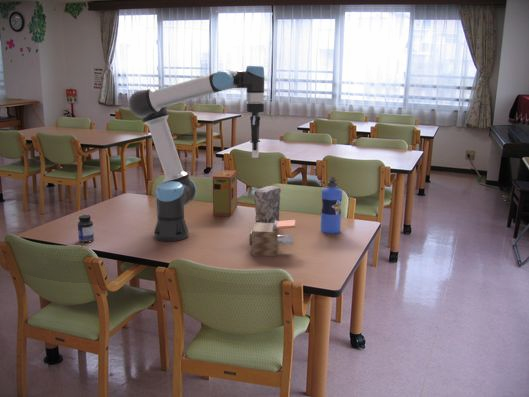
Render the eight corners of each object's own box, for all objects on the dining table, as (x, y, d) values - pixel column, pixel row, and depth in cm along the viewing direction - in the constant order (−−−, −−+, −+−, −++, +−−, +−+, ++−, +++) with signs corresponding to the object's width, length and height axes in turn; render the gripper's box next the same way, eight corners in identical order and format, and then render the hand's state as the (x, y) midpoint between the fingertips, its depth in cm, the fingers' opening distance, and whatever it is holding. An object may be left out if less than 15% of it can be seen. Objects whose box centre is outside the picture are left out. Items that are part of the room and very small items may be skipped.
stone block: (267, 235, 239) (267, 191, 234) (253, 233, 242) (253, 189, 237) (280, 227, 250) (281, 186, 245) (267, 225, 253) (268, 184, 248)
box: (220, 206, 286) (219, 170, 281) (237, 207, 284) (236, 170, 280) (213, 215, 270) (212, 176, 265) (230, 216, 268) (230, 177, 263)
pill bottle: (78, 239, 231) (76, 215, 229) (93, 237, 234) (91, 213, 231) (79, 244, 226) (77, 218, 223) (94, 242, 228) (92, 217, 225)
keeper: (272, 230, 212) (272, 226, 212) (274, 224, 221) (274, 220, 221) (294, 228, 211) (294, 225, 211) (295, 222, 220) (295, 218, 220)
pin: (249, 247, 217) (249, 233, 215) (251, 243, 222) (251, 229, 221) (291, 249, 215) (292, 235, 214) (292, 244, 221) (292, 230, 219)
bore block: (251, 255, 214) (251, 231, 212) (254, 245, 226) (254, 222, 223) (276, 256, 213) (276, 232, 211) (278, 246, 225) (278, 223, 222)
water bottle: (316, 231, 246) (317, 177, 239) (328, 226, 252) (330, 174, 246) (332, 235, 239) (334, 180, 233) (344, 230, 246) (347, 177, 240)
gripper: (262, 103, 222) (262, 160, 228) (265, 101, 235) (265, 155, 241) (244, 103, 223) (244, 159, 229) (248, 101, 236) (248, 154, 241)
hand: (255, 157), depth 235 cm, fingers closed
